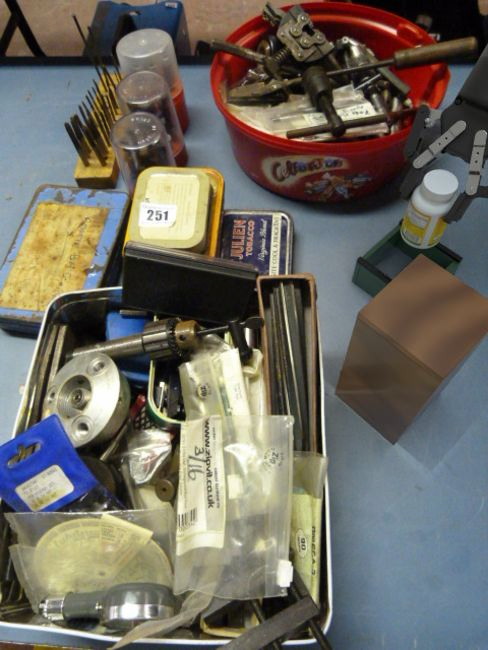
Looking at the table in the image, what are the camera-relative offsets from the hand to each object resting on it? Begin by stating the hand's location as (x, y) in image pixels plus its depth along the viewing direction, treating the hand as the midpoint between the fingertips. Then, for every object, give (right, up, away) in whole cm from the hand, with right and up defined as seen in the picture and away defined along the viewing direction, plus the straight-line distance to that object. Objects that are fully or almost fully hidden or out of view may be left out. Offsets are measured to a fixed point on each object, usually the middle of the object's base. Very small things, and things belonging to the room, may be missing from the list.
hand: (425, 210), depth 62 cm
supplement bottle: (+1, -2, +6) cm, 7 cm away
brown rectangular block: (-3, -23, +7) cm, 24 cm away
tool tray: (+2, -7, +16) cm, 17 cm away
